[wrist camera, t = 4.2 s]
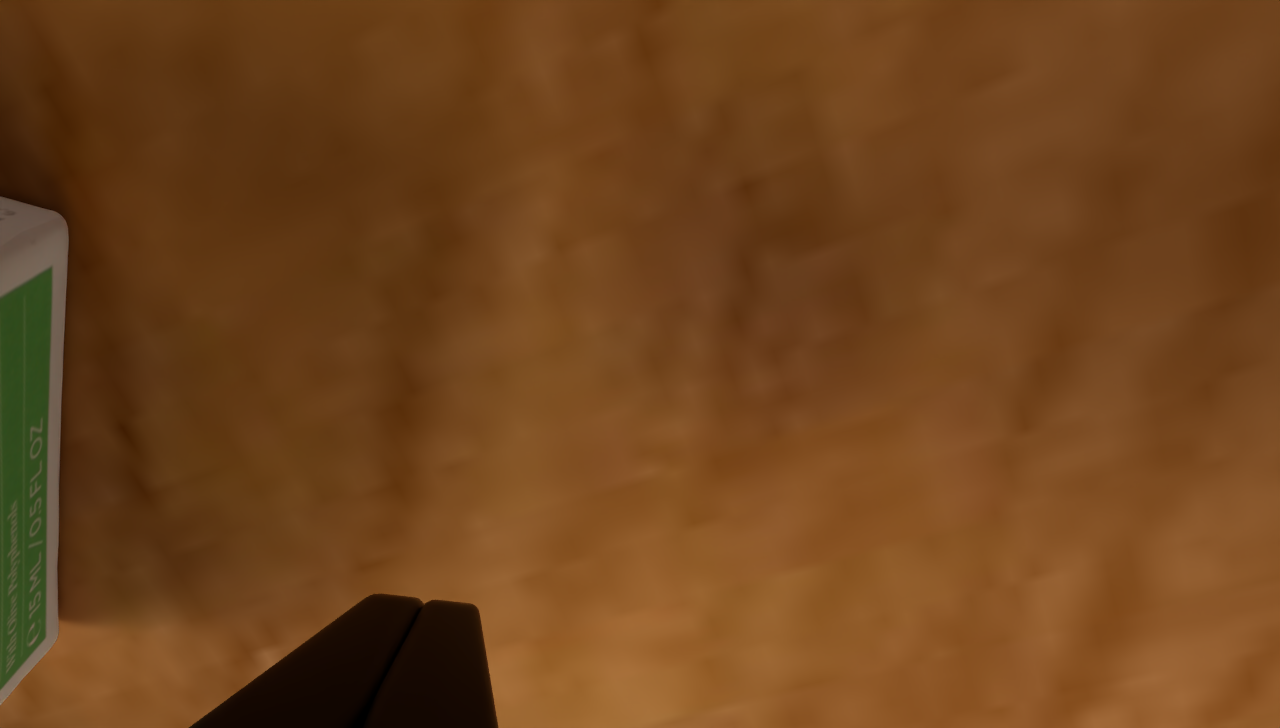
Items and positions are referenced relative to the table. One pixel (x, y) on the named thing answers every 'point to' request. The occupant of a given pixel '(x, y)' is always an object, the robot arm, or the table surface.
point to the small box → (30, 432)
